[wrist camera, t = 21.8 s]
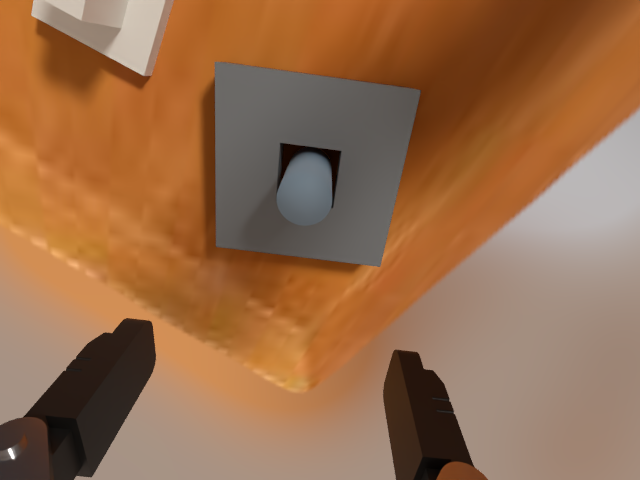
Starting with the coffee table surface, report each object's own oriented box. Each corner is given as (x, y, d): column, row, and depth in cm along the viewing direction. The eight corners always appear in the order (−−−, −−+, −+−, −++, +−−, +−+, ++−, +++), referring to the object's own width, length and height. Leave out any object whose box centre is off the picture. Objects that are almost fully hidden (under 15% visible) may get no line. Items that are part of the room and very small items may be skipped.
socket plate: (225, 62, 30) (214, 61, 27) (413, 88, 30) (421, 90, 27) (224, 233, 37) (215, 246, 34) (376, 252, 37) (380, 266, 34)
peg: (291, 143, 32) (278, 169, 24) (334, 149, 33) (335, 176, 25) (287, 185, 34) (274, 222, 26) (328, 190, 34) (328, 228, 26)
